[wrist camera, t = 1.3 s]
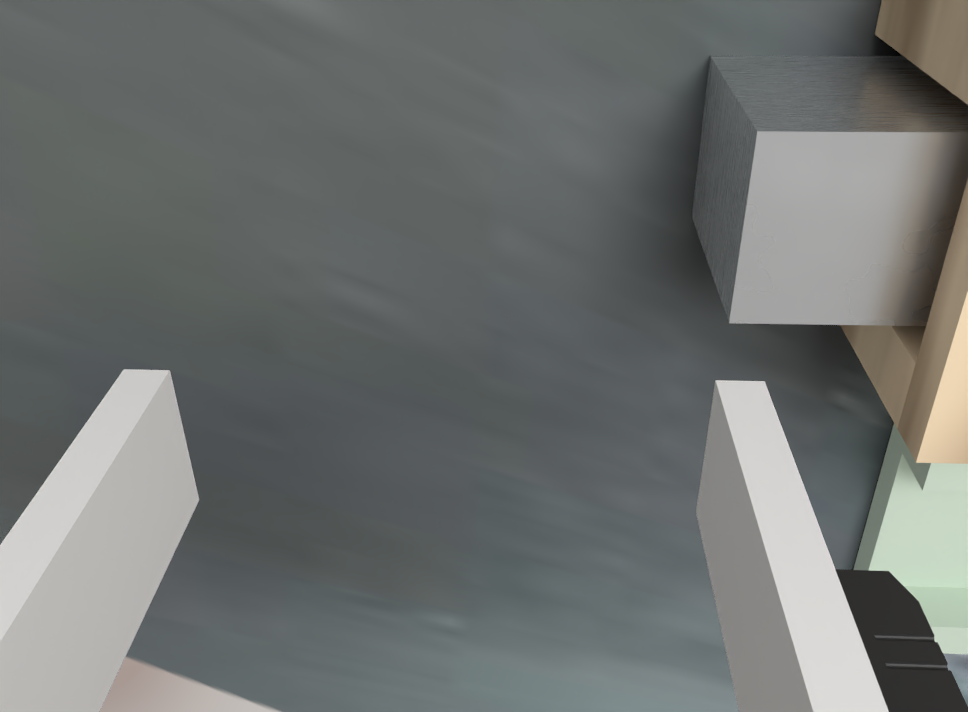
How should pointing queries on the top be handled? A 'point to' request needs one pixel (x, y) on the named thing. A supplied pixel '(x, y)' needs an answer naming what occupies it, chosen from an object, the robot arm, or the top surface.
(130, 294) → the top surface
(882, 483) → the cradle
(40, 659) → the robot arm
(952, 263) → the block
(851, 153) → the steel bar
